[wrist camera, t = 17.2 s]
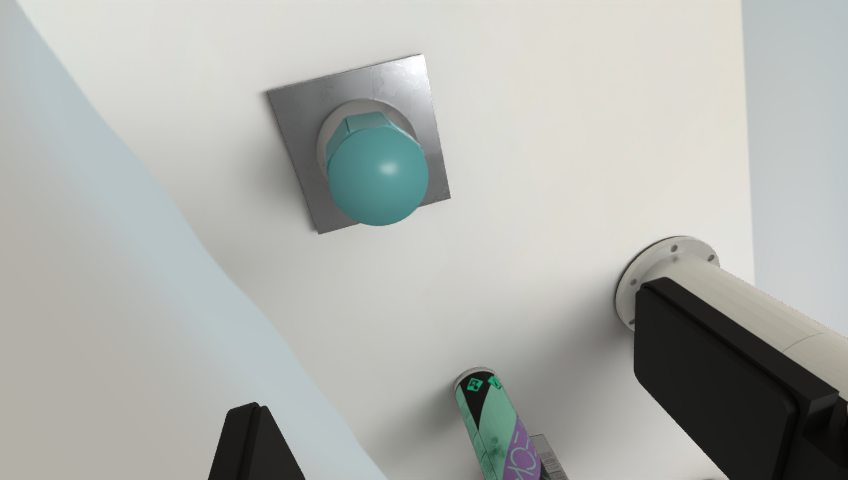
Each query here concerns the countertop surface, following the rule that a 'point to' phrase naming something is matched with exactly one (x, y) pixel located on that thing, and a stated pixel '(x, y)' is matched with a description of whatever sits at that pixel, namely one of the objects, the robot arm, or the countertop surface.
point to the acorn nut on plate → (350, 95)
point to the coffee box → (548, 458)
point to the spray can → (496, 428)
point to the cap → (375, 169)
